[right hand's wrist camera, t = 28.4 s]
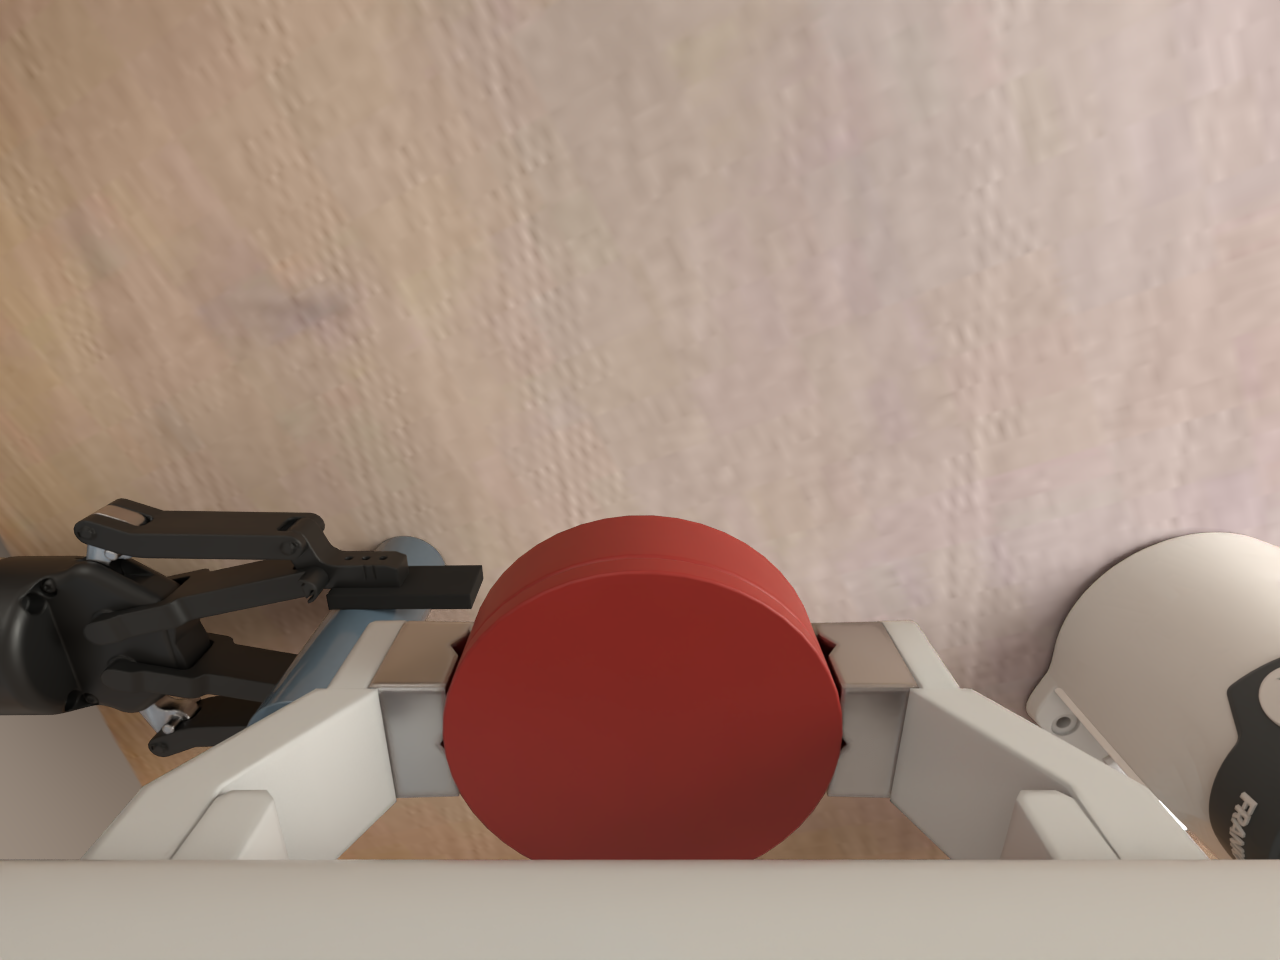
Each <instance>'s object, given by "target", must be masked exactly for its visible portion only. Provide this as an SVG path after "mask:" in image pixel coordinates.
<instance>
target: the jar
mask: <svg viewBox="0 0 1280 960" xmlns="http://www.w3.org/2000/svg"><path fill="white" fill-rule="evenodd" d="M375 551H382V552H383V551H397V552H400V553H403V554H406V555H407V562H408V566H445V563H444V561H443V559H442V557H441V555H440V554H439V553H438V551H437V550H436V549H435V548H434V547H433V546H431V545H430V544H428V543H427V542H425V541H423V540H421V539H418V538H414V537H409V536H399V537H394V538H390V539H388V540H386V541H384V542H383V543H381V544H380V545H379V546H378V547H377V548H376V549H375ZM375 551H374V552H375ZM430 611H431V609H367V610H330V612H329V613H328V614H327V616H326V617H325V619H324V620H323V621H322V623H321V624H320V625H319V627H318V628H317V629H316V631H315V632H314V633H313V635H312V636H311V637H310V639H309V640H308V642H307V643H306V644H305V646H304V647H303V648H302V650H301V651H300V652H299V654H298V655H297V656H296V658H295V659H294V661H293V662H292V663H291V665H290V666H289V667H288V669H287V670H286V671H285V673H284V674H283V675H282V677H281V678H280V680H279V681H278V682H277V684H276V685H275V686H274V688H273V689H272V690H271V692H270V693H269V694H268V696H267V697H266V698H265V700H264V701H263V703H262V704H261V705H260V707H259V708H258V709H257V711H256V712H255V713H254V715H253V716H252V718H251V719H250V721H249V723H248V725H247V727H249V726H251V725H253V724H254V723H256V722H258V721H260V720H261V719H263V718H265V717H267V716H268V715H270V714H272V713H274V712H276V711H277V710H279V709H281V708H283V707H284V706H286V705H288V704H290V703H291V702H293V701H295V700H297V699H299V698H300V697H302V696H304V695H306V694H307V693H309V692H311V691H313V690H314V689H327V687H328V685H329V684H330V682H331V681H332V679H333V678H334V676H335V675H336V673H337V672H338V670H339V669H340V667H341V665H342V664H343V662H344V661H345V659H346V658H347V656H348V655H349V653H350V652H351V650H352V649H353V647H354V645H355V644H356V642H357V641H358V639H359V638H360V636H361V635H362V633H363V632H364V630H365V629H366V627H367V625H368V624H369V623H371V622H374V621H398V620H405V621H407V622H408V621H426V619H427V617H428V615H429V613H430Z"/></svg>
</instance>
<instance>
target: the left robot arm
mask: <svg viewBox="0 0 1280 960" xmlns="http://www.w3.org/2000/svg"><path fill="white" fill-rule="evenodd" d="M324 528H325V524H324V521H323V520H322V518H321V517H320V516H318V515H316V514H313V513H285V512H215V511H163V510H159V509H156V508H153V507H150V506H147V505H144V504H140V503H137V502H134V501H131V500H128V499H122V498H121V499H117V500H115V501H113V502H112V503H110V504H108V505H106V506H105V507H103V508H101V509H100V510H98V511H96V512H94V513H93V514H91V515H89V516H88V517H86V518H84V519H82V520H81V521H79V522H78V523H76V524H75V526H74V534H75V535H76V537H77V538H78V539H79V540H80V541H81V542H83V543H85V544H87V545H88V546H87V556H86V557H83V556H16V557H8V558H1V557H0V715H54V714H60V713H65V712H69V711H73V710H77V709H81V708H85V707H89V706H93V705H104V706H109V707H112V708H115V709H118V710H120V711H123V712H129V713H134V712H140V713H141V715H142V716H143V717H144V718H145V719H146V721H147V722H148V723H149V724H150V725H151V726H152V728H153V729H154V730H155V731H156V732H157V734H156V735H155V736H154V737H153V738H152V739H151V740H150V742H149V744H148V747H149V749H150V751H151V752H152V753H153V754H155V755H157V756H160V757H167V756H170V755H173V754H176V753H179V752H182V751H185V750H188V749H191V748H194V747H208V746H215V745H217V744H219V743H221V742H223V741H224V740H226V739H228V738H230V737H231V736H233V735H235V734H237V733H238V732H240V731H242V730H244V729H245V728H247V725H248V723H249V721H250V719H251V718H252V716H253V715H254V713H255V712H256V711H257V709H258V708H259V707H260V705H261V704H262V703H263V701H264V700H265V698H266V697H267V696H268V694H269V693H270V692H271V690H272V689H273V688H274V686H275V685H276V684H277V682H278V681H279V680H280V678H281V677H282V675H283V674H284V673H285V671H286V670H287V669H288V667H289V666H290V665H291V663H292V662H293V661H294V659H295V658H296V656H297V655H296V654H290V653H285V652H279V651H273V650H267V649H261V648H255V647H249V646H243V645H237V644H234V643H233V639H232V638H231V637H228V636H224V635H218V634H212V633H207V632H206V631H205V629H204V627H203V626H202V624H201V622H200V618H203V617H208V616H213V615H218V614H223V613H228V612H232V611H237V610H242V609H247V608H252V607H257V606H262V605H267V604H272V603H276V602H281V601H286V600H291V599H296V598H301V597H306V598H308V597H309V596H311V595H312V597H311V598H310V599H309V600H308V603H311V602H313V601H314V600H315V599H316V598H317V596H318V595H319V594H320V593H321V591H322V590H323V589H331V590H330V591H329V593H328V594H327V595H326V597H327V602H328V607H329V610H367V609H471V608H472V606H473V603H474V601H475V598H476V596H477V593H478V591H479V588H480V586H481V583H482V581H483V571H482V565H461V566H408V562H407V555H406V554H403V553H400V552H397V551H383V552H382V551H375V552H374V551H341V550H339V549H337V548H334V547H333V546H332V545H331V544H330V543H329V541H328V540H327V538H326V536H325V535H324V533H323V531H324ZM131 557H138V558H179V559H253V560H263V561H258V562H253V563H249V564H244V565H239V566H234V567H230V568H225V569H220V570H215V571H209V569H202V570H197V571H192V572H188V573H183V574H178V575H173V576H169V577H166V576H164V575H162V574H160V573H158V572H156V571H154V570H153V569H151V568H149V567H147V566H145V565H143V564H141V563H139V562H137V561H135V560H133V559H132V558H131ZM206 694H213V695H219V696H215V697H209V698H206V699H202V700H201V698H200V697H201V696H203V695H206ZM169 695H170V696H176V697H182V698H183V699H175V698H172V697H170V696H169ZM186 698H188V699H186Z"/></svg>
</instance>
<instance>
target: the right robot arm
mask: <svg viewBox="0 0 1280 960" xmlns="http://www.w3.org/2000/svg"><path fill="white" fill-rule="evenodd" d="M473 625H474V622H447V621H408V622H407V621H405V620H398V621H374V622H371V623H369V624H368V625H367V627H366V629H365V630H364V632H363V633H362V635H361V636H360V638H359V639H358V641H357V642H356V644H355V645H354V647H353V649H352V650H351V652H350V653H349V655H348V656H347V658H346V659H345V661H344V662H343V664H342V665H341V667H340V669H339V670H338V672H337V673H336V675H335V676H334V678H333V679H332V681H331V682H330V684H329V685H328V687H327V689H314V690H313V691H311V692H309V693H307V694H306V695H304V696H302V697H300V698H299V699H297V700H295V701H293V702H291V703H290V704H288V705H286V706H284V707H283V708H281V709H279V710H277V711H276V712H274V713H272V714H270V715H268V716H267V717H265V718H263V719H261V720H260V721H258V722H256V723H254V724H253V725H251V726H249V727H247V728H245V729H244V730H242V731H240V732H238V733H237V734H235V735H233V736H231V737H230V738H228V739H226V740H224V741H223V742H221V743H219V744H217V745H215V746H214V747H212V748H210V749H208V750H207V751H205V752H203V753H201V754H200V755H198V756H196V757H194V758H192V759H191V760H189V761H187V762H185V763H184V764H182V765H180V766H178V767H177V768H175V769H173V770H171V771H169V772H168V773H166V774H164V775H162V776H161V777H159V778H157V779H155V780H154V781H152V782H150V783H148V784H146V785H145V786H143V787H142V788H141V789H140V790H139V791H138V792H137V793H136V795H135V796H134V797H133V798H132V799H131V801H130V802H129V803H128V804H127V805H126V806H125V808H124V809H123V810H122V811H121V812H120V813H119V815H118V816H117V817H116V818H115V819H114V820H113V822H112V823H111V824H110V825H109V826H108V827H107V829H106V830H105V831H104V832H103V833H102V834H101V836H100V837H99V838H98V839H97V840H96V841H95V843H94V844H93V845H92V846H91V847H90V848H89V850H88V851H87V852H86V853H85V854H84V856H83V857H82V858H81V859H80V860H0V960H1280V547H1278V546H1275V545H1272V544H1269V543H1267V542H1264V541H1262V540H1259V539H1256V538H1253V537H1250V536H1246V535H1242V534H1236V533H1227V532H1205V533H1196V534H1189V535H1184V536H1180V537H1176V538H1172V539H1169V540H1165V541H1162V542H1159V543H1157V544H1154V545H1152V546H1149V547H1147V548H1145V549H1143V550H1141V551H1139V552H1137V553H1135V554H1133V555H1131V556H1129V557H1128V558H1126V559H1124V560H1123V561H1121V562H1119V563H1118V564H1116V565H1115V566H1114V567H1112V568H1111V569H1109V570H1108V571H1107V572H1106V573H1104V574H1103V575H1102V576H1101V577H1099V578H1098V579H1097V580H1096V581H1095V582H1094V583H1093V584H1092V585H1091V586H1090V587H1089V588H1088V589H1087V590H1086V591H1085V592H1084V593H1083V594H1082V596H1081V597H1080V598H1079V599H1078V601H1077V602H1076V603H1075V604H1074V606H1073V607H1072V609H1071V610H1070V612H1069V613H1068V615H1067V617H1066V619H1065V620H1064V623H1063V625H1062V627H1061V629H1060V631H1059V634H1058V637H1057V640H1056V643H1055V648H1054V652H1053V656H1052V661H1051V664H1050V667H1049V669H1048V671H1047V673H1046V674H1045V676H1044V677H1043V678H1042V679H1041V681H1040V682H1039V683H1038V685H1037V686H1036V687H1035V689H1034V690H1033V692H1032V693H1031V695H1030V697H1029V699H1028V701H1027V704H1026V711H1027V713H1028V715H1029V716H1030V717H1031V718H1032V719H1033V720H1034V721H1035V722H1036V723H1037V724H1038V725H1039V726H1040V727H1041V728H1040V727H1039V726H1037V725H1035V724H1033V723H1031V722H1030V721H1028V720H1026V719H1024V718H1023V717H1021V716H1019V715H1017V714H1015V713H1014V712H1012V711H1010V710H1008V709H1007V708H1005V707H1003V706H1001V705H999V704H998V703H996V702H994V701H992V700H991V699H989V698H987V697H985V696H983V695H982V694H980V693H978V692H976V691H975V690H973V689H961V688H960V687H959V685H958V684H957V682H956V681H955V679H954V678H953V676H952V675H951V673H950V672H949V670H948V669H947V667H946V666H945V665H944V663H943V662H942V660H941V659H940V657H939V656H938V654H937V653H936V651H935V650H934V648H933V647H932V645H931V644H930V642H929V641H928V639H927V638H926V636H925V635H924V633H923V632H922V630H921V629H920V627H919V626H918V624H917V623H915V622H913V621H912V620H899V621H877V622H839V623H811V625H812V628H813V630H814V633H815V635H816V638H817V640H818V643H819V645H820V648H821V650H822V653H823V655H824V658H825V660H826V663H827V665H828V668H829V670H830V673H831V675H832V678H833V681H834V683H835V686H836V688H837V691H838V695H839V700H840V705H841V710H842V726H843V735H842V742H841V750H840V756H839V759H838V763H837V766H836V769H835V773H834V775H833V778H832V780H831V782H830V784H829V786H828V788H827V790H826V791H827V795H828V796H840V797H876V798H890V801H891V802H892V803H893V804H894V805H895V806H896V807H897V808H898V809H899V810H900V811H901V812H902V813H903V814H904V815H905V816H906V817H907V818H908V819H909V820H911V821H912V822H913V823H914V824H915V825H916V826H917V827H918V828H919V829H920V830H921V831H922V832H923V833H924V834H925V835H926V836H927V837H928V838H929V839H930V840H931V841H932V842H933V843H934V844H936V845H937V846H938V847H939V848H940V849H941V850H942V851H943V852H944V853H945V854H946V855H947V856H948V857H949V858H950V859H951V860H336V859H337V858H338V857H339V856H341V855H342V854H343V853H344V852H345V851H346V850H347V849H348V848H349V847H350V846H351V845H352V844H353V843H354V842H355V841H356V840H357V839H358V838H359V837H360V836H361V835H362V834H363V833H364V832H365V831H366V830H367V829H368V828H369V827H371V826H372V825H373V824H374V823H375V822H376V821H377V820H378V819H379V818H380V817H381V816H382V815H383V814H384V813H385V812H386V811H387V810H388V809H389V808H390V807H391V806H392V805H393V804H394V803H395V802H396V798H410V797H445V796H459V794H460V792H459V790H458V788H457V786H456V784H455V782H454V780H453V778H452V775H451V772H450V769H449V766H448V762H447V759H446V755H445V749H444V742H443V712H444V706H445V701H446V696H447V692H448V689H449V687H450V684H451V681H452V679H453V676H454V673H455V671H456V668H457V666H458V663H459V660H460V658H461V655H462V653H463V650H464V648H465V645H466V643H467V640H468V637H469V635H470V632H471V630H472V627H473ZM1188 830H1189V831H1190V832H1191V833H1192V834H1193V835H1194V836H1195V837H1196V838H1197V839H1198V840H1199V841H1200V842H1201V843H1202V844H1203V845H1204V846H1205V847H1206V848H1207V849H1208V850H1209V851H1210V852H1211V853H1212V854H1213V855H1214V856H1215V857H1217V858H1218V859H1219V860H1210V859H1209V858H1208V857H1207V856H1206V854H1205V853H1204V852H1203V851H1202V850H1201V849H1200V847H1199V846H1198V845H1197V844H1196V843H1195V842H1194V840H1193V839H1192V838H1191V837H1190V836H1189V835H1188V834H1187V832H1186V831H1188Z"/></svg>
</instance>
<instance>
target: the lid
mask: <svg viewBox="0 0 1280 960" xmlns="http://www.w3.org/2000/svg"><path fill="white" fill-rule="evenodd" d="M842 735H843V726H842V710H841V705H840V700H839V695H838V691H837V688H836V686H835V683H834V681H833V678H832V675H831V673H830V670H829V668H828V665H827V663H826V660H825V658H824V655H823V653H822V650H821V648H820V645H819V643H818V640H817V638H816V635H815V633H814V630H813V628H812V625H811V623H810V620H809V618H808V615H807V613H806V611H805V608H804V606H803V604H802V602H801V600H800V599H799V597H798V595H797V594H796V592H795V590H794V588H793V587H792V586H791V585H790V583H789V582H788V581H787V580H786V578H785V577H784V576H783V575H782V573H781V572H780V571H779V570H778V569H777V568H776V567H775V566H774V565H773V564H772V563H770V562H769V561H768V560H767V559H766V558H765V557H764V556H763V555H761V554H760V553H758V552H757V551H756V550H754V549H753V548H751V547H750V546H748V545H747V544H746V543H744V542H742V541H740V540H738V539H736V538H734V537H732V536H730V535H728V534H727V533H725V532H722V531H719V530H717V529H714V528H711V527H709V526H706V525H703V524H700V523H696V522H691V521H687V520H683V519H679V518H671V517H662V516H653V515H651V516H622V517H614V518H606V519H601V520H597V521H593V522H589V523H585V524H581V525H579V526H576V527H574V528H571V529H568V530H566V531H563V532H561V533H558V534H556V535H554V536H552V537H551V538H549V539H547V540H545V541H543V542H541V543H539V544H538V545H536V546H535V547H533V548H532V549H531V550H529V551H528V552H527V553H525V554H524V555H522V556H521V557H520V558H518V559H517V560H516V561H515V562H514V563H513V564H512V565H511V566H510V567H509V568H508V569H507V570H506V571H505V572H504V573H503V574H502V575H501V577H500V578H499V579H498V580H497V582H496V583H495V584H494V586H493V587H492V588H491V589H490V591H489V593H488V595H487V596H486V598H485V600H484V602H483V604H482V605H481V607H480V609H479V612H478V615H477V617H476V620H475V622H474V625H473V627H472V630H471V632H470V635H469V637H468V640H467V643H466V645H465V648H464V650H463V653H462V655H461V658H460V660H459V663H458V666H457V668H456V671H455V673H454V676H453V679H452V681H451V684H450V687H449V689H448V692H447V696H446V701H445V706H444V712H443V742H444V749H445V755H446V759H447V762H448V766H449V769H450V772H451V775H452V778H453V780H454V782H455V784H456V786H457V788H458V790H459V792H460V794H461V796H462V797H463V799H464V800H465V802H466V803H467V805H468V806H469V807H470V809H471V810H472V812H473V813H474V814H475V815H476V816H477V818H478V819H479V820H480V821H481V822H482V823H483V824H484V825H485V826H486V827H487V829H489V830H490V831H491V832H492V833H493V834H494V835H496V836H497V837H498V838H499V839H500V840H501V841H503V842H504V843H505V844H507V845H508V846H510V847H511V848H513V849H514V850H516V851H517V852H519V853H520V854H522V855H523V856H525V857H527V858H529V859H531V860H754V859H756V858H757V857H759V856H761V855H763V854H765V853H766V852H768V851H769V850H771V849H772V848H774V847H775V846H776V845H778V844H779V843H781V842H782V841H784V840H785V839H786V838H787V837H788V836H789V835H790V834H792V833H793V832H794V831H795V830H796V829H797V828H798V827H799V826H800V825H801V824H802V823H803V822H804V821H805V820H806V819H807V817H808V816H809V815H810V814H811V813H812V812H813V811H814V809H815V808H816V806H817V805H818V803H819V802H820V800H821V799H822V797H823V796H824V794H825V792H826V790H827V788H828V786H829V784H830V782H831V780H832V778H833V775H834V773H835V769H836V766H837V763H838V759H839V756H840V750H841V742H842Z"/></svg>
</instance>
